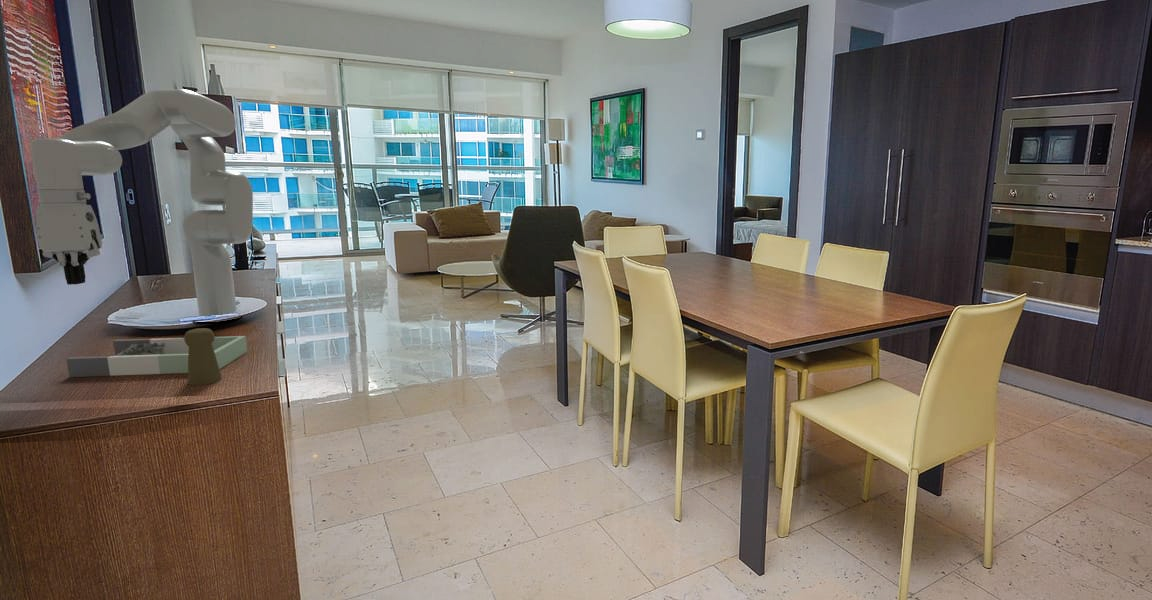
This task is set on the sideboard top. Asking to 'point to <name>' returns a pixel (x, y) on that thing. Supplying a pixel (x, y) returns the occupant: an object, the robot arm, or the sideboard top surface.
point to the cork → (201, 357)
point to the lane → (153, 358)
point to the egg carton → (143, 349)
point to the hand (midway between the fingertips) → (76, 283)
